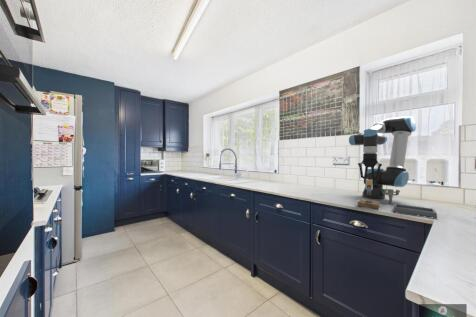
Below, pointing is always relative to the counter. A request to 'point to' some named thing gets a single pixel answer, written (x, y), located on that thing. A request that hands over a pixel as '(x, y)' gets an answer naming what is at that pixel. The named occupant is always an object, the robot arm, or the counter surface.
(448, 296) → the counter surface
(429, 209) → the parts tray
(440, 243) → the counter surface
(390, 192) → the mechanical component
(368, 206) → the block
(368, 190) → the tall wooden block
